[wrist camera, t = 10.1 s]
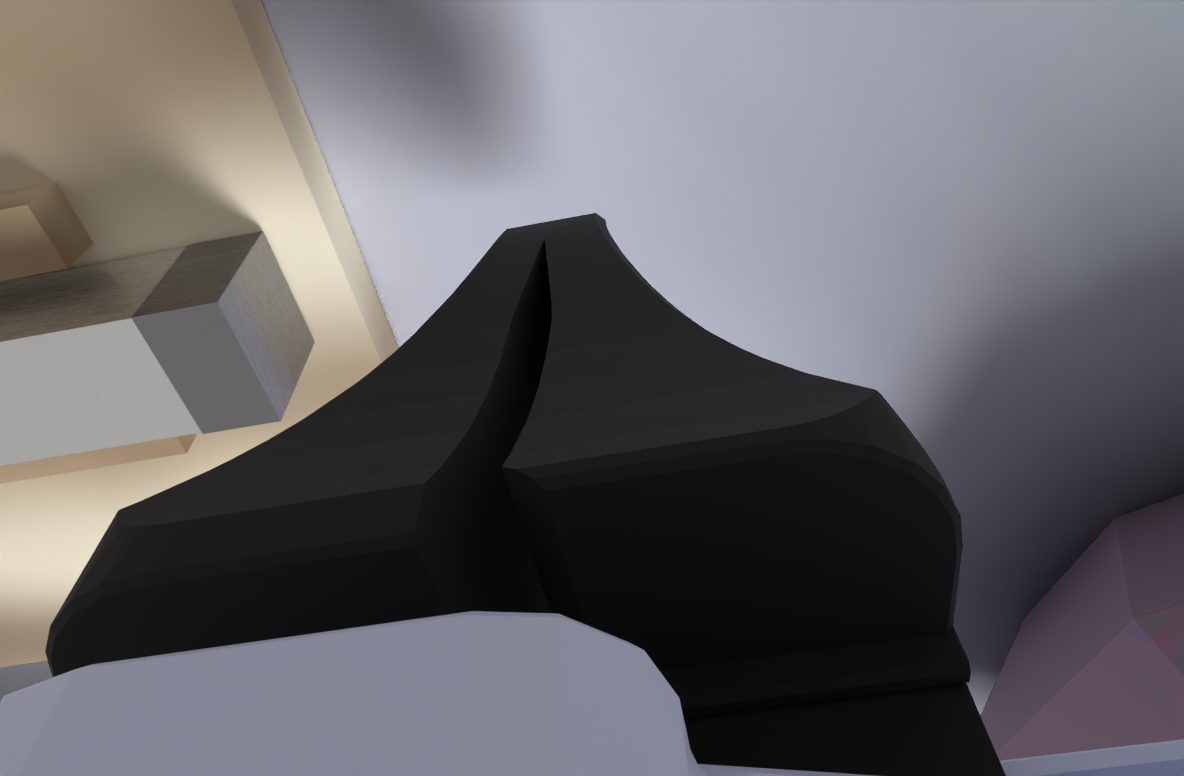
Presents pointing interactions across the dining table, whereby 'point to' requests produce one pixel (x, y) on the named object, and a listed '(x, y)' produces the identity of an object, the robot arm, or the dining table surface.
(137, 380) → the lock pin
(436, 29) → the dining table surface
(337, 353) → the dock
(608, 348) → the robot arm
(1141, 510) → the flask
